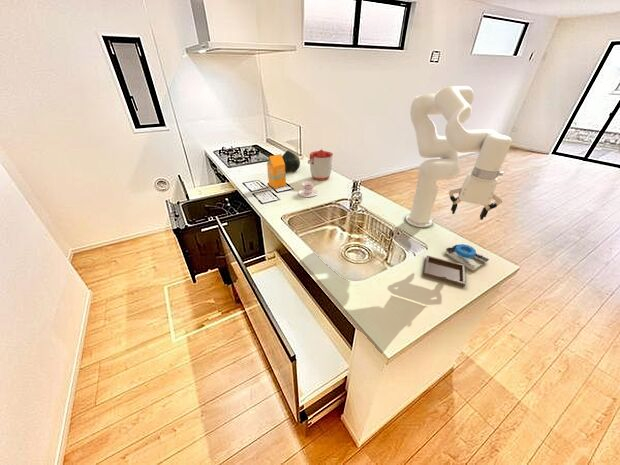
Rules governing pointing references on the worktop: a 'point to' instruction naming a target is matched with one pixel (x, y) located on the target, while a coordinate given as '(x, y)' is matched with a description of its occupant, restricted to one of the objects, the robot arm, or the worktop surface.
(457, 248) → the ring
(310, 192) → the teacup
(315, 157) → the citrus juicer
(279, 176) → the orange juice
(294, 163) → the squash
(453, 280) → the tray
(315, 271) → the worktop surface
